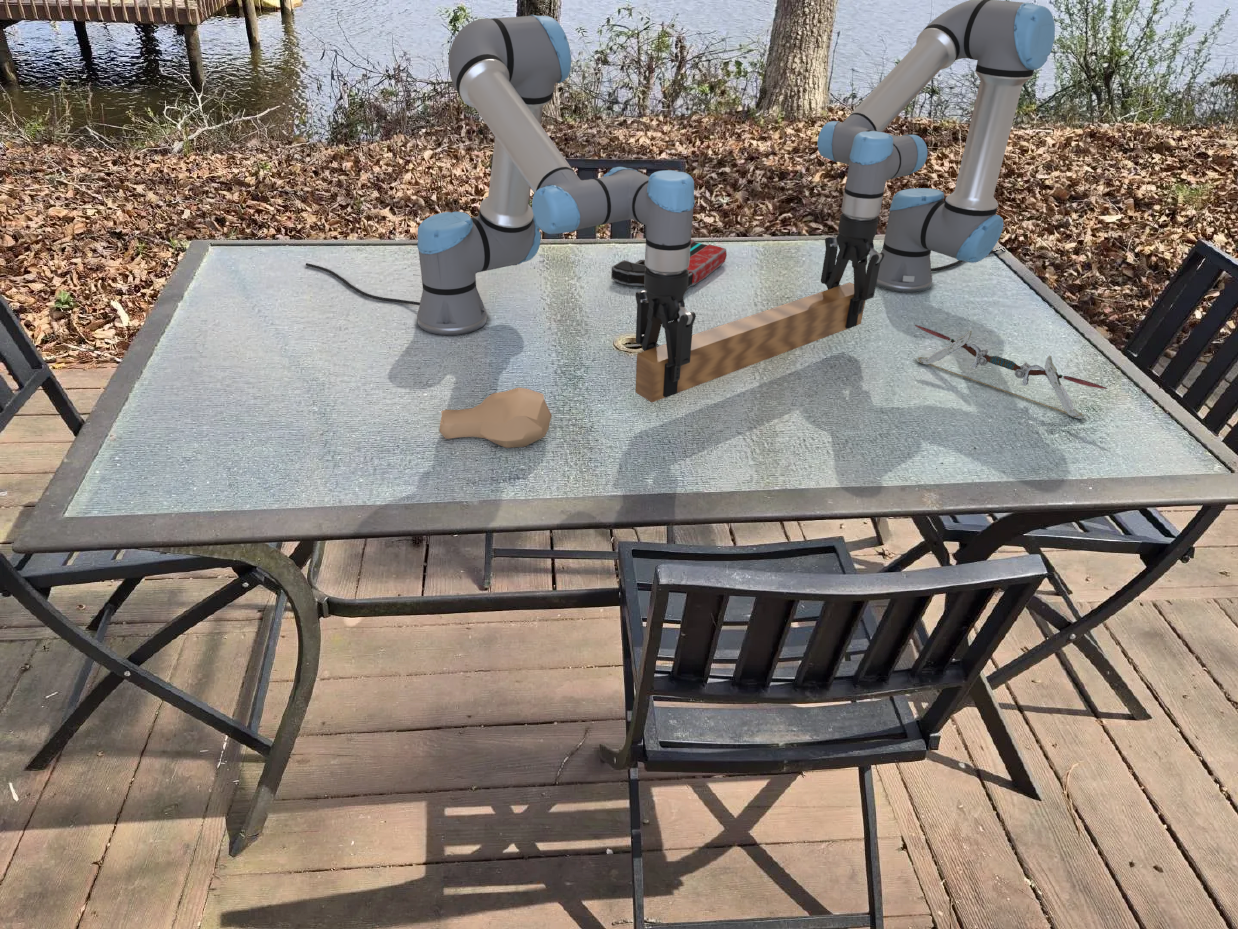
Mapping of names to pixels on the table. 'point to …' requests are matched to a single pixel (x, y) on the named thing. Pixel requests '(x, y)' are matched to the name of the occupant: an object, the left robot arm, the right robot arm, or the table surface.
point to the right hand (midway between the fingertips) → (840, 322)
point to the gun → (700, 267)
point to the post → (748, 341)
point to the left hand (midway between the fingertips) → (660, 388)
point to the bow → (1020, 371)
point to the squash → (501, 419)
